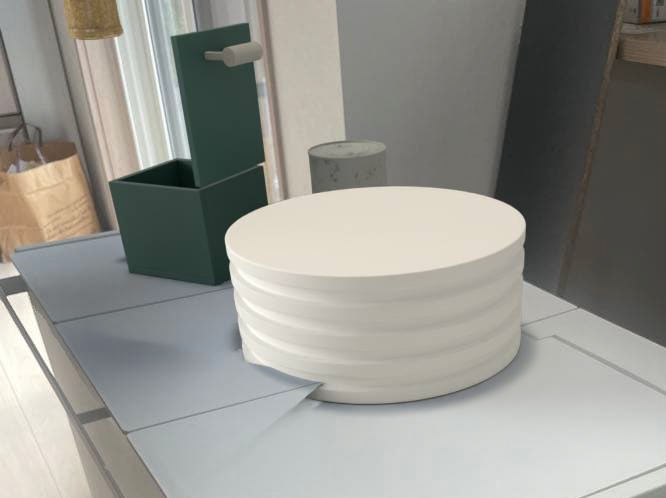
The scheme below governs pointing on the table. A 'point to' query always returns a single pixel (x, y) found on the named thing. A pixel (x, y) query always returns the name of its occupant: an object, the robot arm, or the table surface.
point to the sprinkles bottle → (92, 19)
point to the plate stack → (380, 290)
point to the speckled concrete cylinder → (347, 165)
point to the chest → (182, 219)
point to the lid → (219, 100)
